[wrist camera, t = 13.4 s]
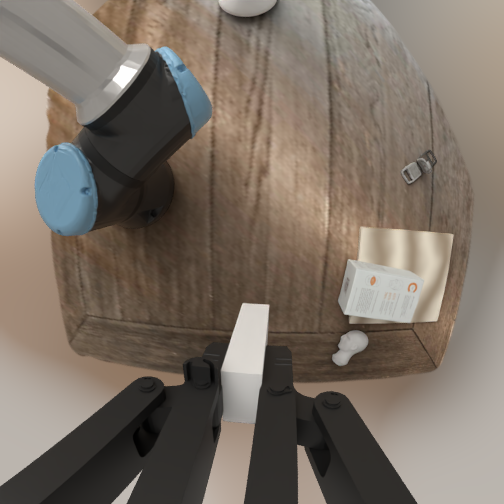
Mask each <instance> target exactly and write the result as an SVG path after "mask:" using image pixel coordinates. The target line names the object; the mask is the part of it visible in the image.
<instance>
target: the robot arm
mask: <svg viewBox="0 0 504 504" xmlns="http://www.w3.org/2000/svg"><path fill="white" fill-rule="evenodd" d="M0 57H2V58H3V59H5V60H7V61H8V62H10V63H12V64H13V65H15V66H16V67H18V68H19V69H21V70H23V71H24V72H26V73H28V74H29V75H31V76H32V77H34V78H35V79H37V80H39V81H40V82H42V83H43V84H45V85H46V86H48V87H49V88H51V89H53V90H54V91H56V92H57V93H59V94H60V95H62V96H63V97H65V98H66V99H68V100H69V101H71V102H73V103H74V104H75V106H76V113H77V121H78V122H79V123H80V124H81V125H82V126H84V128H83V129H82V130H81V131H80V133H79V134H78V135H77V136H76V138H75V139H74V140H73V142H72V143H61V144H60V145H56V146H53V147H52V148H50V149H49V150H48V151H47V152H46V153H45V155H44V156H43V157H42V159H41V161H40V163H39V166H38V169H37V172H36V177H35V198H36V203H37V207H38V210H39V213H40V215H41V217H42V219H43V220H44V222H45V223H46V225H47V226H48V227H49V228H50V229H51V230H52V231H54V232H55V233H57V234H59V235H64V236H72V235H83V234H85V233H88V232H90V231H93V230H97V229H100V228H104V227H107V226H111V225H115V224H117V225H119V226H122V227H125V228H132V229H135V228H142V227H145V226H148V225H151V224H153V223H154V222H156V221H157V220H159V219H160V218H161V217H162V216H163V215H164V213H165V212H166V211H167V209H168V207H169V205H170V203H171V200H172V197H173V191H174V180H173V175H172V171H171V169H170V166H169V164H168V163H167V160H168V159H169V158H170V157H171V156H172V155H173V154H174V153H175V152H176V151H177V150H178V149H179V148H180V147H181V146H182V145H183V144H184V143H186V142H187V141H188V140H189V139H192V138H193V137H194V136H195V134H196V132H197V131H198V130H199V129H200V128H201V127H202V126H204V125H205V124H206V123H207V122H208V121H209V119H210V118H211V115H212V105H211V102H210V100H209V98H208V96H207V95H206V93H205V91H204V90H203V88H202V87H201V85H200V84H199V82H198V81H197V80H196V78H195V77H194V75H193V74H192V73H191V72H190V70H189V69H187V68H186V66H185V65H184V64H183V62H182V61H181V59H180V58H179V57H178V56H177V55H176V54H175V53H174V52H173V51H172V50H171V49H170V48H168V47H162V48H159V49H157V50H156V51H154V50H153V49H152V48H151V47H150V46H149V45H147V44H144V43H143V44H131V45H127V44H126V43H125V42H124V41H122V40H121V39H120V38H119V37H118V36H117V35H115V34H114V33H113V32H112V31H111V30H110V29H108V28H107V27H106V26H105V25H104V24H102V23H101V22H100V21H99V20H98V19H96V18H95V17H94V16H93V15H91V14H90V13H89V12H88V11H86V10H85V9H84V8H83V7H81V6H80V5H79V4H77V3H76V2H75V1H74V0H0ZM268 319H269V305H264V304H246V303H243V304H242V307H241V310H240V313H239V316H238V319H237V322H236V325H235V328H234V332H233V335H232V338H231V341H230V344H228V343H217V342H213V343H211V344H210V345H209V346H207V347H206V350H205V352H204V354H203V356H202V357H195V358H191V359H189V360H187V361H185V362H184V364H183V370H184V378H185V382H184V384H182V385H178V386H164V384H163V382H162V381H161V380H159V379H158V378H155V377H142V378H138V379H137V380H135V381H134V382H132V383H131V384H130V385H129V386H127V387H126V388H125V389H124V390H123V391H121V392H120V393H119V394H118V395H117V396H115V397H114V398H113V399H112V400H110V401H109V402H108V403H107V404H105V405H104V406H103V407H102V408H101V409H99V410H98V411H97V412H96V413H94V414H93V415H92V416H91V417H90V418H88V419H87V420H86V421H84V422H83V423H82V424H81V425H79V426H78V427H77V428H76V429H75V430H73V431H72V432H71V433H69V434H68V435H67V436H66V437H64V438H63V439H62V440H61V441H59V442H58V443H57V444H55V445H54V446H53V447H52V448H50V449H49V450H48V451H46V452H45V453H44V454H43V455H41V456H40V457H39V458H37V459H36V460H35V461H34V462H32V463H31V464H30V465H28V466H27V467H26V468H24V469H23V470H22V471H20V472H19V473H18V474H16V475H15V476H14V477H12V478H11V479H10V480H8V481H7V482H6V483H4V484H3V485H2V486H0V504H111V503H112V502H113V501H114V500H115V499H116V498H117V497H118V496H119V495H120V494H121V493H122V491H123V490H124V489H125V488H126V487H127V486H128V485H129V484H130V483H131V482H132V481H133V479H134V478H135V477H136V476H137V475H138V474H139V472H141V470H142V469H143V470H142V472H141V474H140V476H139V479H138V481H137V483H136V485H135V487H134V489H133V491H132V493H131V496H130V498H129V500H128V502H127V504H202V502H203V498H204V494H205V491H206V487H207V483H208V479H209V475H210V471H211V467H212V464H213V459H214V456H215V452H216V447H217V444H218V439H219V436H220V432H221V418H222V415H223V421H229V422H238V423H250V424H255V429H254V436H253V445H252V451H251V459H250V466H249V473H248V480H247V487H246V494H245V500H244V504H298V467H297V445H301V446H304V447H305V451H306V454H307V456H308V459H309V461H310V464H311V466H312V469H313V471H314V474H315V476H316V478H317V481H318V483H319V486H320V488H321V491H322V493H323V496H324V498H325V500H326V503H327V504H417V502H416V501H415V499H414V498H413V496H412V495H411V493H410V491H409V490H408V489H407V487H406V485H405V484H404V482H403V481H402V479H401V478H400V476H399V475H398V473H397V472H396V470H395V469H394V467H393V466H392V464H391V463H390V461H389V460H388V458H387V457H386V455H385V454H384V452H383V451H382V449H381V448H380V446H379V445H378V443H377V442H376V440H375V438H374V437H373V436H372V434H371V432H370V431H369V429H368V428H367V426H366V425H365V423H364V422H363V420H362V419H361V417H360V416H359V414H358V413H357V411H356V410H355V408H354V407H353V405H352V404H351V402H350V401H349V399H348V398H347V397H346V396H345V395H343V394H341V393H338V392H333V391H330V392H323V393H320V394H319V395H318V396H316V398H311V397H307V396H304V395H302V394H300V393H298V392H297V391H296V390H295V388H294V386H293V374H292V354H291V351H290V350H289V349H288V347H287V346H267V337H268Z"/></svg>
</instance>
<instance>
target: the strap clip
mask: <svg viewBox="0 0 504 504" xmlns="http://www.w3.org/2000/svg"><path fill="white" fill-rule="evenodd" d="M428 152H430V153H431V155H432V156H433V158H434V160H435V162H434V163H432V161H431V160H430V158H429V156H428V154H427V153H428ZM417 162H418V164H419V165H420V167H421V169H422V171H423V172H424V173H428V174H429V173H431V172H432V170H431V168H432V166H433V165H434V164H435V163H436V162H437V160H436V158H435V156H434V155H433V153H432V151H431V150H427V151H425V152H424V153H423V154H422V155H421V156H420V157H419V158H418V159H417ZM405 170H406V172H407V173H408V175H409V177H410V178H411V181H408V180H407V178H406V176H405V175H404V173H403V172H404V171H405ZM421 173H422V172H421V170H420V168H419V166H418V165H417V163H416V162H412V163H410V164H409V165H407V166H406V167H404V168H403V169H402V170H401V175H402V177H403V178H404V180H405V182H406V183H407V184H410V183H412V182H414V181H415V180H416V179H417V178H418V177H420V176H421Z"/></svg>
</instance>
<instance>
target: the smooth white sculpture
mask: <svg viewBox="0 0 504 504" xmlns="http://www.w3.org/2000/svg"><path fill="white" fill-rule="evenodd" d="M367 345H368V338H367V336H366V335H365V334H364V333H363V332H362V331H358V330H353V331H349V332H348V333H347V334H345V335H343V336H341V340H340V343H339V344H338V347H339V349H340V350H339V351H338V352H337V353H336V354H333V356H332V360H333V361H334V362H335V363H336V364H337V365H339V366H343V365H346V364H347V363H348V361H349V359H350V358H351V357H352V355H354V354H355V353H357V352H360V351H362V350H364V349H365V348H366V346H367Z"/></svg>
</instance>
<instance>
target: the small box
mask: <svg viewBox="0 0 504 504" xmlns="http://www.w3.org/2000/svg"><path fill="white" fill-rule="evenodd" d="M423 283H424V279H422V278H420V277H419V276H417V275H416V274H414V273H413V272H411V271H408V270H403V269H398V268H393V267H388V266H382V265H377V264H372V263H367V262H361V261H356V260H350V259H349V260H348V261H347V267H346V271H345V275H344V280H343V284H342V288H341V292H340V296H339V299H338V302H339V305H340V307H341V309H342V311H343V313H344V314H345V315H351V316H358V317H365V318H372V319H380V320H388V321H395V322H404V323H411V320H412V317H413V314H414V311H415V309H416V306H417V304H418V301H419V297H420V293H421V290H422V287H423Z"/></svg>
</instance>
